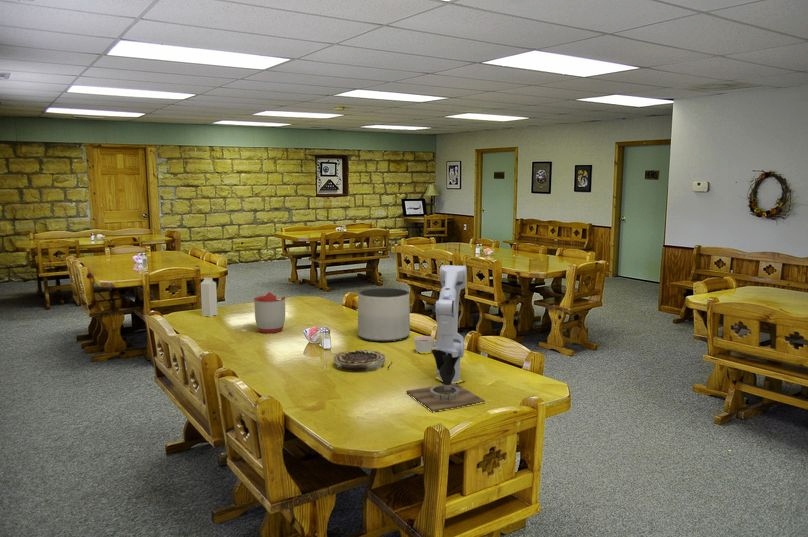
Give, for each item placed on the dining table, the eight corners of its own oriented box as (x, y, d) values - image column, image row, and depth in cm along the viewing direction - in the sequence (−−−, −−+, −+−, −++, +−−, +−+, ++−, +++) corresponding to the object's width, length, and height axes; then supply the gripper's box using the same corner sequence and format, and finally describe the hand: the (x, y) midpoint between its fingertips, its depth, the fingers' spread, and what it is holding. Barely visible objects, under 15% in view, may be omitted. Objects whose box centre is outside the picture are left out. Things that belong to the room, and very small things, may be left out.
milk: (209, 314, 338) (207, 276, 336) (217, 315, 336) (216, 277, 333) (201, 316, 333) (200, 277, 330) (210, 317, 330) (208, 278, 328)
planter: (350, 333, 297) (350, 289, 294) (396, 328, 307) (396, 286, 304) (369, 345, 274) (369, 298, 271) (418, 339, 285) (418, 294, 282)
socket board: (406, 393, 211) (406, 390, 211) (454, 385, 220) (454, 382, 220) (432, 412, 193) (432, 409, 193) (484, 403, 202) (484, 400, 202)
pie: (383, 379, 228) (382, 366, 228) (315, 375, 234) (315, 363, 233) (398, 358, 256) (398, 347, 255) (337, 355, 261) (337, 344, 260)
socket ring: (425, 393, 209) (425, 387, 208) (449, 388, 213) (449, 383, 213) (438, 402, 200) (438, 396, 200) (464, 397, 204) (464, 392, 204)
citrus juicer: (295, 329, 305) (294, 290, 302) (270, 336, 290) (269, 296, 288) (272, 325, 313) (271, 287, 311) (248, 331, 299) (246, 292, 296)
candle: (434, 349, 267) (434, 336, 266) (433, 355, 258) (433, 341, 258) (414, 349, 268) (414, 335, 267) (413, 354, 259) (413, 340, 258)
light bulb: (455, 388, 209) (455, 361, 208) (455, 394, 204) (455, 366, 202) (439, 388, 210) (439, 361, 208) (438, 394, 204) (439, 365, 203)
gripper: (425, 330, 208) (424, 367, 210) (445, 340, 195) (445, 379, 197) (442, 328, 211) (442, 365, 213) (463, 337, 198) (463, 376, 200)
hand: (444, 372), depth 205 cm, fingers closed on light bulb, 6 cm apart
